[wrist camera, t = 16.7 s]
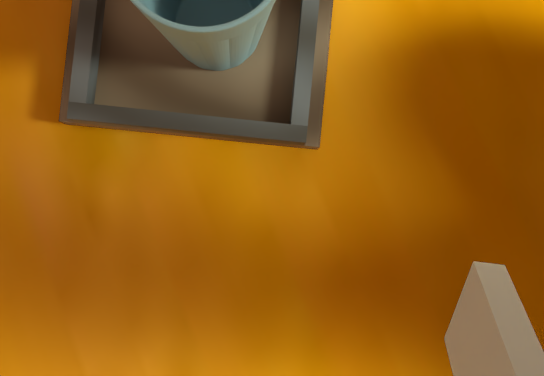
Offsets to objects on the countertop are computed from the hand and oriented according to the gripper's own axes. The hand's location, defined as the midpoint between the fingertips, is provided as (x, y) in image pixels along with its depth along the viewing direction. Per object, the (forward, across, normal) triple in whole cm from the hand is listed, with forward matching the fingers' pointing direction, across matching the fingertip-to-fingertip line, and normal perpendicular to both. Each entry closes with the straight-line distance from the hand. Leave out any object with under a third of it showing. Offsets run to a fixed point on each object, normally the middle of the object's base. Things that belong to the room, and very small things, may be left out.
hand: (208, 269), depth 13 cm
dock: (+24, -5, +2) cm, 25 cm away
